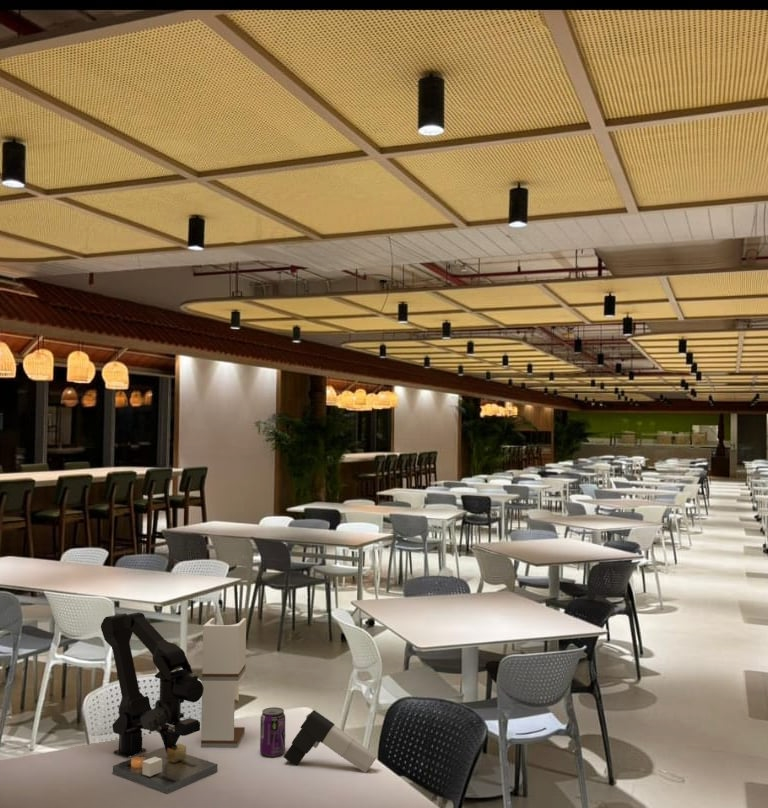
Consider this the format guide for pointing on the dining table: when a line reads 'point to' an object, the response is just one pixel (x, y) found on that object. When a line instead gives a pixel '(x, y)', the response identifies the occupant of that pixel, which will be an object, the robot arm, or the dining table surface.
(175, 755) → the tan block
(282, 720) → the beverage can
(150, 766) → the beige block
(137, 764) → the orange push button
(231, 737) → the beige tower stand
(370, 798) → the dining table surface
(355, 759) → the handheld device
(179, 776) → the plate
